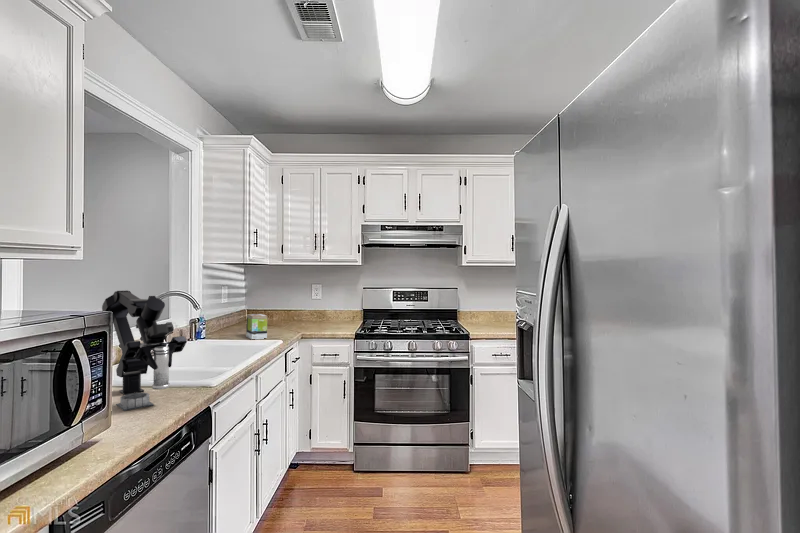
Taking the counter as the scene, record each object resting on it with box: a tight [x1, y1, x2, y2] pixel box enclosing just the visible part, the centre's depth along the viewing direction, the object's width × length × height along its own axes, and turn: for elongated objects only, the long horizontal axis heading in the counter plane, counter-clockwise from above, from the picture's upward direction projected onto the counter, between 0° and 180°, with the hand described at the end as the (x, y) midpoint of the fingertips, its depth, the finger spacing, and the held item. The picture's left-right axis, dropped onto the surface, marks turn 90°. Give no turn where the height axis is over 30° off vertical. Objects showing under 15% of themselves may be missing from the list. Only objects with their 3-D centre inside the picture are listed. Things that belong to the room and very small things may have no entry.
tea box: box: [245, 313, 268, 340], centre depth 304 cm, size 15×10×15 cm, turn 30°
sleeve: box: [116, 392, 155, 412], centre depth 156 cm, size 9×9×3 cm
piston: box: [151, 346, 170, 390], centre depth 156 cm, size 5×5×13 cm
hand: (163, 367), depth 155 cm, fingers closed on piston, 4 cm apart
